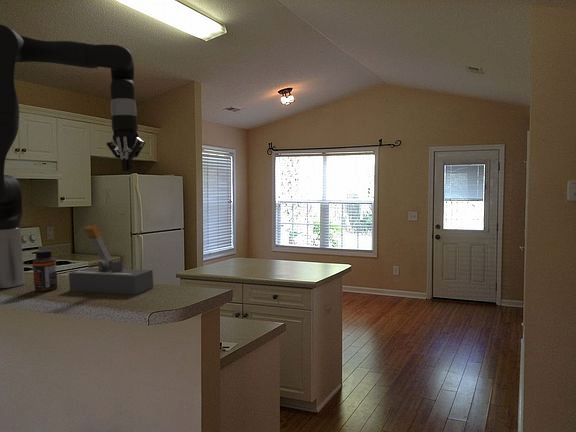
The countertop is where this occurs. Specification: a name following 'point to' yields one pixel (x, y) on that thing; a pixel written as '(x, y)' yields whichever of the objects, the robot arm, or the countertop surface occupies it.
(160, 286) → the countertop surface
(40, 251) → the supplement bottle
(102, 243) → the lever
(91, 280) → the block
